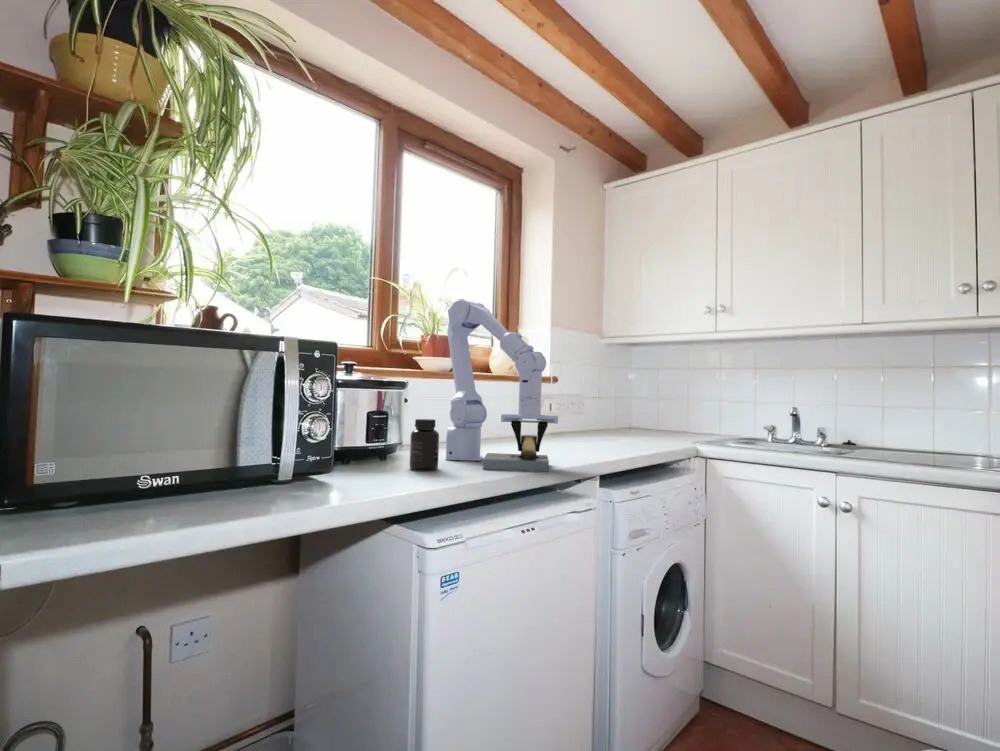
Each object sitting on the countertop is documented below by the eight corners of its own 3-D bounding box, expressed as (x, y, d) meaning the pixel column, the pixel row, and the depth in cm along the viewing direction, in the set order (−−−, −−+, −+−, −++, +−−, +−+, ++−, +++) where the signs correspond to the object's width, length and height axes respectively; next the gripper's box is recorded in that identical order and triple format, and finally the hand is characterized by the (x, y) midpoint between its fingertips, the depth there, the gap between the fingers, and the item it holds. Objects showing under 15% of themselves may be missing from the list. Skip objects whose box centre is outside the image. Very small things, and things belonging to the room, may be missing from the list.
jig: (482, 469, 128) (483, 459, 128) (487, 462, 140) (487, 453, 140) (548, 471, 127) (548, 461, 127) (547, 464, 139) (547, 455, 139)
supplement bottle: (442, 470, 125) (444, 420, 125) (415, 472, 121) (417, 420, 121) (431, 466, 131) (433, 418, 131) (405, 467, 127) (407, 418, 127)
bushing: (519, 460, 132) (520, 436, 132) (521, 457, 136) (522, 434, 136) (535, 461, 132) (536, 437, 132) (537, 458, 136) (537, 435, 136)
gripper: (500, 397, 131) (499, 451, 131) (559, 399, 130) (557, 453, 130) (502, 397, 138) (501, 448, 138) (557, 398, 137) (556, 450, 137)
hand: (528, 451), depth 134 cm, fingers closed on bushing, 4 cm apart
